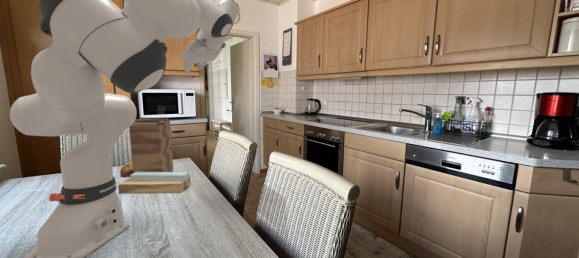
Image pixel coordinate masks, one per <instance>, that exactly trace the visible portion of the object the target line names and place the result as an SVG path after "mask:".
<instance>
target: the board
mask: <svg viewBox="0 0 579 258" xmlns="http://www.w3.org/2000/svg"><path fill="white" fill-rule="evenodd" d="M190 184H191V175H190V174H189V178H188V179H187V180H186V181H131V179H130V177H128V178H127V179H126V180H123V181H121V182H120V183H118V184H117V186H118V193H119V194H159V193H161V194H162V193H163V194H165V193H166V194H167V193H169V194H170V193H171V194H173V193H176V194H178V193H182V192H184V191H185V189H186V188H187V187H188V186H189V185H190Z"/></svg>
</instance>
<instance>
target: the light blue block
mask: <svg viewBox="0 0 579 258" xmlns="http://www.w3.org/2000/svg"><path fill="white" fill-rule="evenodd" d="M189 175H190V172H189V171H173V172H135V173H133V174H131V175H130V177H129V178H130V179H131V181H186V180H187V179H188V178H189Z"/></svg>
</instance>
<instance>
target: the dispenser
mask: <svg viewBox="0 0 579 258" xmlns="http://www.w3.org/2000/svg"><path fill="white" fill-rule="evenodd" d="M128 132H129V140H130V150H131V161H133V172H134V173H135V172H174V162H173V161H174V160H173V147H172V144H173V143H172V133H171V120H170V119H169V117H164V116H163V117H160V116H159V117H158V116H157V117H152V116H151V117H139V118H136V119H135V121H134V123H133V124H132V125H131V126H130V127H129V128H128Z"/></svg>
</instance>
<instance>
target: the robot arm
mask: <svg viewBox="0 0 579 258" xmlns="http://www.w3.org/2000/svg"><path fill="white" fill-rule="evenodd" d="M38 1H39V3H38V11H39V15H40V17H41V22H40V23H39V28H40V31H41V32H42V33H43V34H45V35H47V36H50V37H52V43H51V45H50V46H48V47H46V48H45V49H43V50H40V51H39V52H38V53H37V54H36V55H34V58H33V59H32V62H31V68H30V77H31V81H32V85H33V88H34V89H35V92H36V93H33V94H29V95H24V96H21V97H18V98H17V99H16V100H15V101H14V102H13V103H12V104H11V106H10V111H9V119H10V121H11V124H12V125H13V126H14V127H15V129H17V130H18V131H19V132H20V133H21V134H23V135H25V136H32V137H33V136H35V137H61V136H63V137H64V136H73V135H74V136H75V135H87V139H86V140H85V141H84V142H83V143H81V144H79V145H77V146H75V147H73V148H72V149H70V150H68V151H66V152H65V153H64V154H63V155H62V156H61V158H60V161H59V165H60V172H61V178H62V186H61V190H60V192H58V193H53V192H52V193H50V194H49V196H48V200H49V201H50V202H58V205H57V206H56V207H55V209H53V211H52V212H51V214H50V215H49V216H48V218H47V219H46V220H45V222H44V223H43V224H42V225H41V227H40V228H39V229H38V232H37V237H36V241H37V242H36V243H37V244H36V246H34V247H33V248H32V249H31V250H30V251H28V252H27V253H26V254H25V255H24V258H85V257H86V256H89V255H90V254H92V252H94V251H95V250H97V249H98V248H100V247H101V246H103V245H104V244H106V243H107V242H109V241H111V240H112V239H113V238H115V237H116V236H117V235H119V234H120V233H122V232H123V231H125V230H127V229H128V228H129V227H130V224H129V222H128V221H127V220H126V218H125V214H124V209H123V205H122V201H121V199H120V197H119V196H118V194H117V192H116V190H117V181H116V178H115V176H114V172H113V152H114V146H115V145H116V143H117V141H118V139H119V138H120V137H121V136H122V135H123V133H124V132H125V131H127V130H129V127H130V126H131V125H132V124H133V123H134V121H135V119H137V108H136V105H135V103H134V102H133V100H131V99H130V98H129V97H128V96H127V95H122V94H118V93H110V92H106V86H105V81H104V77H106V78H107V79H109V81H110V83H111V84H112V85H113V86H115V87H116V88H117V89H120V90H122V91H123V92H125V93H128V94H137V93H139V92H142V91H146V90H148V89H150V88H152V87H154V86H155V85H156V84H157V83H158V82H159V81H160V79H161V78H162V76H163V75H164V74H165V72H166V69H167V56H166V55H167V54H166V53H167V52H168V46H167V44H166V43H165V42H163V40H178V39H179V40H183V39H186V38H189V37H191V36H192V35H194V34H195V33H197V31H198V29H200V30H199V31H198V33H197V36H196V39H195V40H192V41H190V43H189V44H188V45H187V46H186V48H185V49H184V51H183V53H182V56H181V60H182V61H184V62H185V67H184V68H183V71H184V72H185V73H190V72H191V71H192V66H193V65H196V64H198V65H197V66H196V68H197V70H199V71H201V70H203V69H204V67H206V65H208V63H209V62H214V61H216V59H217V58H218V56H219V55H220V53H221V51H222V50H223V49H225V47H226V46H227V45H226V44H227V43H225V40H226V38H227V37H228V35H229V33H230V31H231V30H232V28H233V26H234V24H235V23H236V21H237V18H238V15H239V13H240V10H241V7H240V6H239V4H238V3H237V2H236V1H234V0H216V1H213V0H123V7H122V9H121V8H120V7H119V6H118V5H117V4H116V3H115V2H114V1H112V0H38Z"/></svg>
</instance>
